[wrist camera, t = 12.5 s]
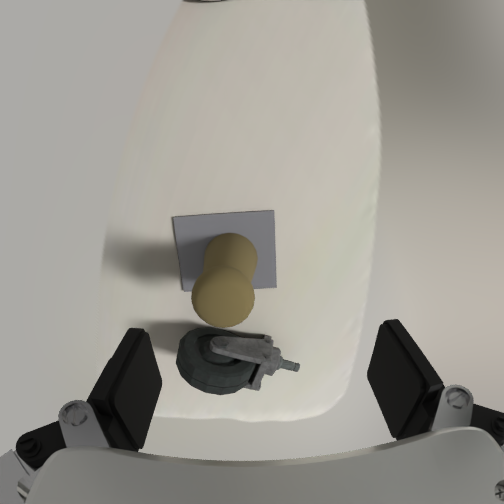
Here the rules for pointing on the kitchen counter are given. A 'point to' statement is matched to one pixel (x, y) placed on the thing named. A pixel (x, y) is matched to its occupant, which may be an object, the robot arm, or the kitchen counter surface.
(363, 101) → the kitchen counter surface
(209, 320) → the cork
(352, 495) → the robot arm
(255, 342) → the caster wheel
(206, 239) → the mat
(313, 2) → the kitchen counter surface
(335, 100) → the kitchen counter surface
